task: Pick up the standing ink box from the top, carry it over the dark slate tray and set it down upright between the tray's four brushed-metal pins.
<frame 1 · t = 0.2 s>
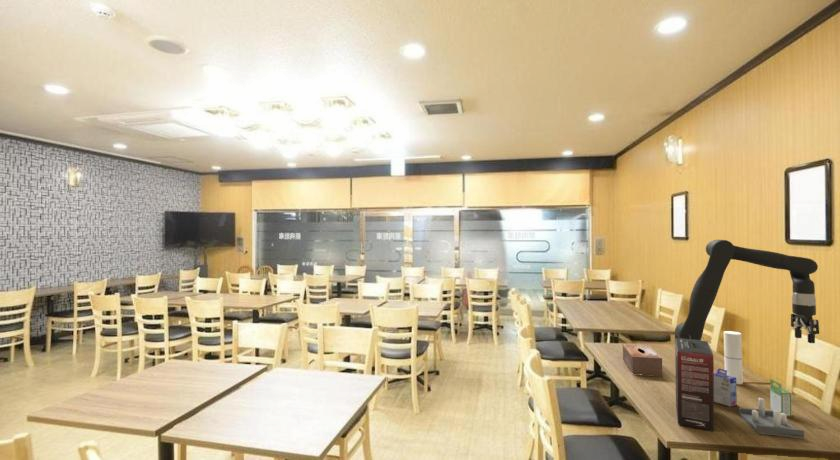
hand: (804, 340, 176), 29 cm above the table, tool pointing down, fingers open, 8 cm apart
headset box: (694, 417, 168), on the table
ink cartridge box: (722, 402, 181), on the table
tissue box cover: (641, 368, 229), on the table
tray: (769, 425, 158), on the table
ink box: (781, 413, 169), on the table
cylindrical container: (733, 382, 206), on the table
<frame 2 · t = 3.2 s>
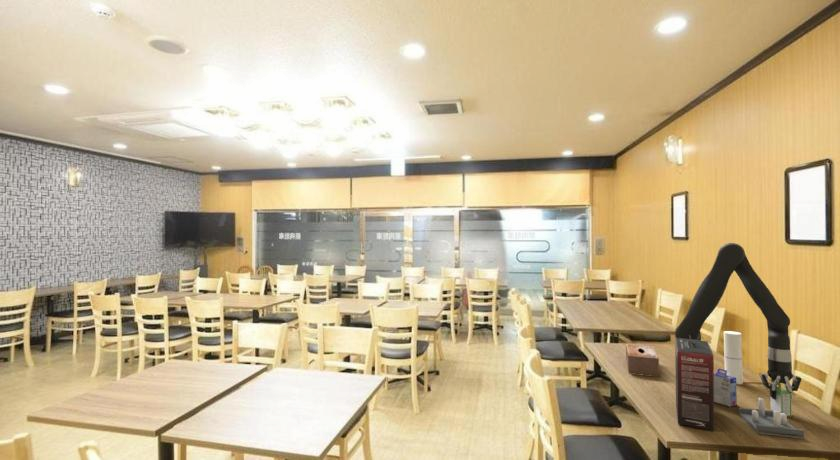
hand: (780, 399, 169), 6 cm above the table, tool pointing down, fingers closed on ink box, 4 cm apart
ink box: (781, 413, 169), on the table, touching gripper
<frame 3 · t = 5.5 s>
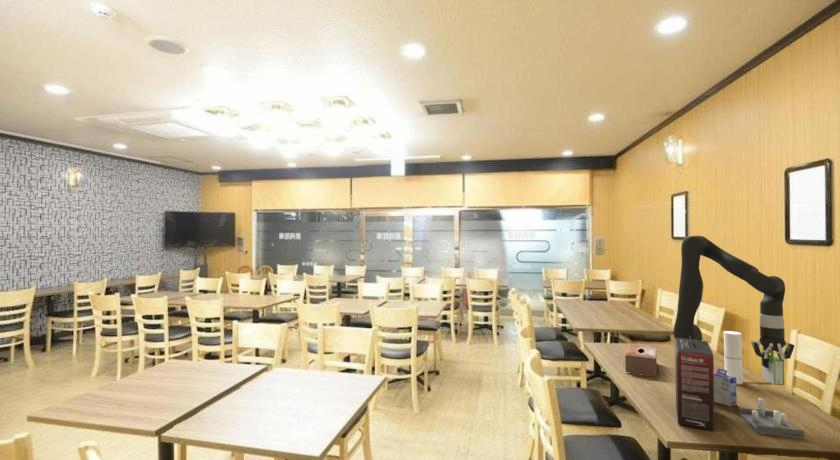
hand: (773, 367, 163), 21 cm above the table, tool pointing down, fingers closed on ink box, 4 cm apart
ink box: (773, 382, 163), point 15 cm above the table, touching gripper
when the fingers open (8 cm above the table, at t = 8.1 s): ink box stays where it is, resting on tray.
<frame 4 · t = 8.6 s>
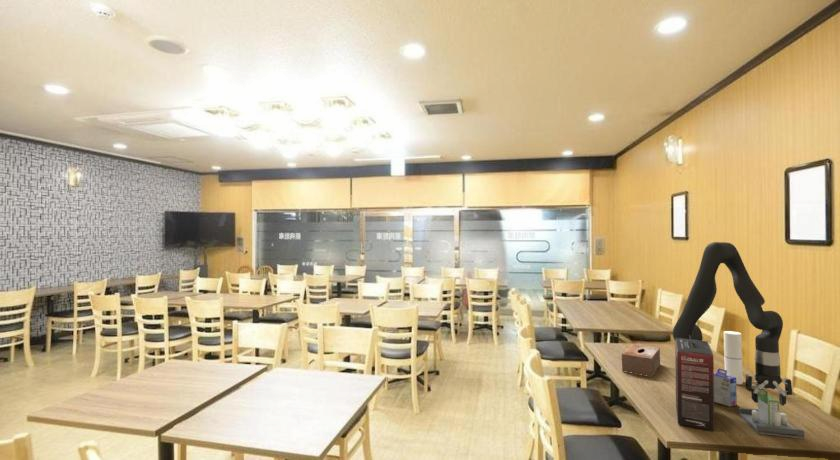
hand: (768, 403, 159), 9 cm above the table, tool pointing down, fingers open, 8 cm apart
ink box: (768, 423, 158), point 1 cm above the table, touching tray
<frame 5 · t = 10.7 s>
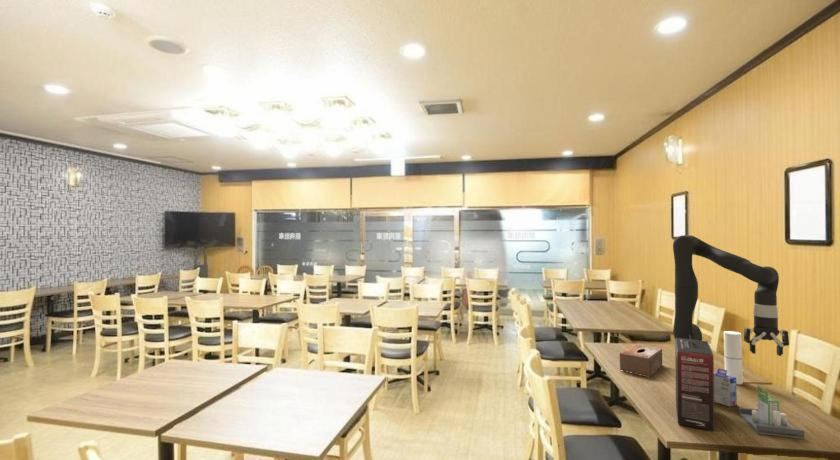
hand: (766, 354, 166), 26 cm above the table, tool pointing down, fingers open, 8 cm apart
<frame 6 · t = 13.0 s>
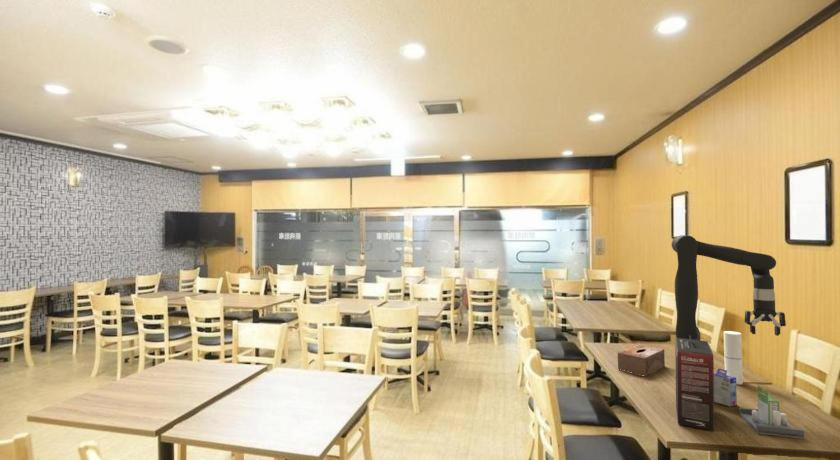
hand: (765, 334, 181), 30 cm above the table, tool pointing down, fingers open, 8 cm apart
at the end: ink box inside the target area on the tray (0.2 cm from its centre), point 1.0 cm above the tray's base; ink box tilted 0°; the gripper is holding nothing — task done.
